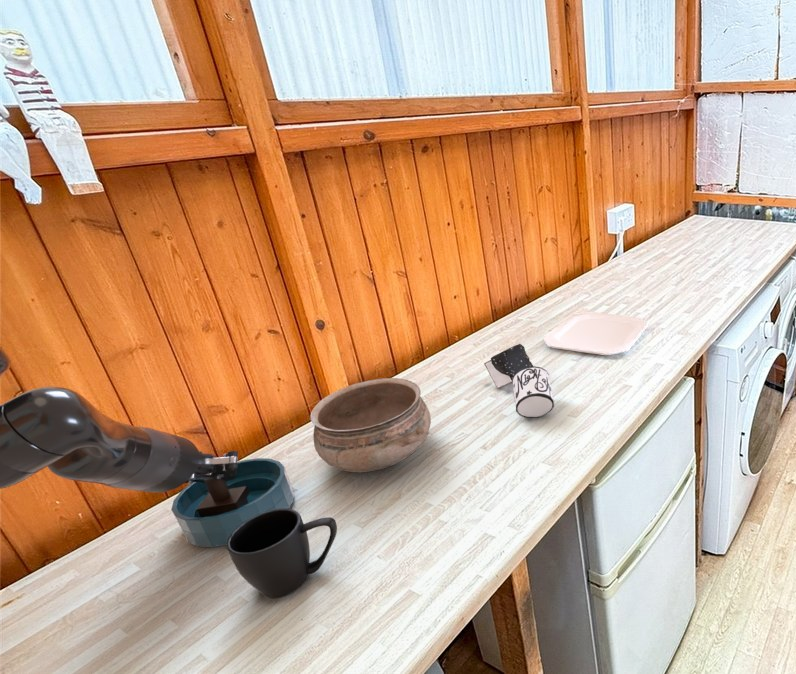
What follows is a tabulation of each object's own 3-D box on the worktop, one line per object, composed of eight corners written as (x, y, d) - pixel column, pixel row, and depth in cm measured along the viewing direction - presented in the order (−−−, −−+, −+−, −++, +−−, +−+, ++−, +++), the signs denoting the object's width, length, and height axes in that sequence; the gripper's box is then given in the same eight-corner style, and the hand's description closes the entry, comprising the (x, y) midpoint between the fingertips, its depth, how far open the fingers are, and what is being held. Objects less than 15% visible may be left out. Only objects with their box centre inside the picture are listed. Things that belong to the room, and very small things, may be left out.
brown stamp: (204, 525, 80) (177, 471, 76) (216, 507, 84) (191, 455, 80) (242, 518, 82) (218, 465, 77) (252, 501, 85) (230, 449, 81)
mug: (343, 590, 71) (324, 538, 67) (240, 615, 67) (214, 562, 63) (354, 545, 78) (338, 496, 74) (262, 565, 75) (239, 515, 71)
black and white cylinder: (568, 415, 109) (564, 374, 105) (523, 431, 104) (517, 388, 100) (523, 368, 128) (518, 332, 124) (483, 380, 123) (477, 342, 119)
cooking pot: (470, 444, 100) (460, 390, 95) (392, 509, 85) (375, 448, 79) (375, 417, 109) (361, 366, 104) (288, 472, 93) (267, 415, 88)
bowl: (167, 559, 76) (150, 529, 73) (213, 494, 88) (200, 466, 86) (277, 539, 79) (264, 509, 77) (306, 479, 92) (296, 452, 89)
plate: (623, 362, 131) (623, 355, 130) (536, 350, 138) (535, 342, 137) (652, 325, 152) (652, 318, 151) (576, 316, 159) (575, 309, 158)
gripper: (209, 422, 69) (272, 444, 85) (82, 439, 66) (173, 458, 82) (204, 479, 67) (270, 491, 83) (72, 500, 63) (168, 508, 79)
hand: (221, 475), depth 82 cm, fingers closed on brown stamp, 2 cm apart
